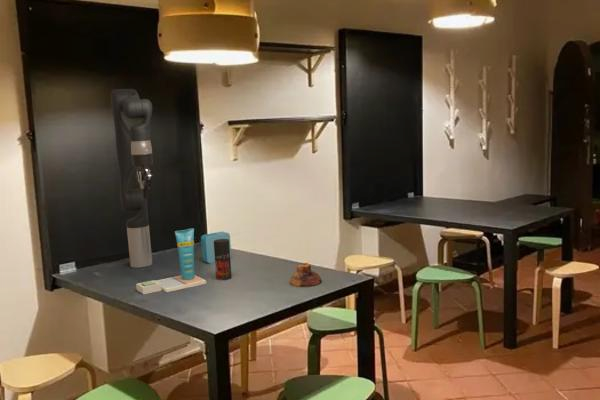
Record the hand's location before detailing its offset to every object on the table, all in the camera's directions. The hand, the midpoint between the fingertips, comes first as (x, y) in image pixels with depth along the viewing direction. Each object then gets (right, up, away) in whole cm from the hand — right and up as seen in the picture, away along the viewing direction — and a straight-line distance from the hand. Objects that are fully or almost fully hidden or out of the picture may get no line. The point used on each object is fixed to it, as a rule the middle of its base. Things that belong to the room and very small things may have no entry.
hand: (145, 198), depth 241 cm
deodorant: (+29, -31, +5) cm, 43 cm away
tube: (+16, -31, +2) cm, 35 cm away
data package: (+23, -27, +34) cm, 49 cm away
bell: (+61, -32, -7) cm, 69 cm away
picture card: (+13, -33, 0) cm, 35 cm away
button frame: (+3, -34, -6) cm, 35 cm away
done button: (+3, -34, -6) cm, 35 cm away
